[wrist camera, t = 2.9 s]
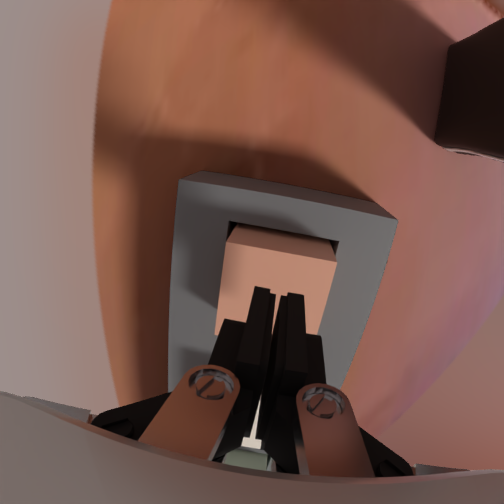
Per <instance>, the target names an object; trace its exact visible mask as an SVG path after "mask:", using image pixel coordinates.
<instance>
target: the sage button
mask: <svg viewBox="0 0 504 504" xmlns="http://www.w3.org/2000/svg"><path fill="white" fill-rule="evenodd" d="M267 457H268V454H263V453H257V452H251V451H245V450H239V449H235V450H233V451H231V452H229V453H227V457H226V460H225V462H224V464H228V465H234V466H239V467H245V468H251V469H258V470H265V471H266V466H267Z"/></svg>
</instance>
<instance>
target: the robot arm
mask: <svg viewBox="0 0 504 504" xmlns="http://www.w3.org/2000/svg"><path fill="white" fill-rule="evenodd" d="M275 300H276V294H273V293H270V289H269V288H263V287H258V286H255V287H254V291H253V295H252V299H251V303H250V307H249V312H248V316H247V320H246V322H241V321H236V320H231V319H226V318H225V319H224V321H223V323H222V326H221V329H220V331H219V334H218V337H217V340H216V343H215V345H214V348H213V351H212V354H211V357H210V359H209V362H208V365H200V366H196V367H194V368H192V369H190V370H188V371H187V372H186V373H185V374H184V376H183V377H182V379H181V380H180V381H179V383H178V384H177V386H176V387H175V389H174V390H173V391H172V392H169V393H165V394H162V395H159V396H156V397H153V398H149V399H146V400H143V401H139V402H136V403H133V404H129V405H126V406H122V407H119V408H115V409H111V410H108V411H105V412H103V413H100V414H99V415H93V414H91V410H87V409H81V408H76V407H72V406H67V405H62V404H58V403H54V402H50V401H45V400H41V399H38V398H34V397H21V396H17V395H14V394H10V393H7V392H2V391H0V504H504V470H492V469H490V470H472V471H470V470H467V469H456V468H446V467H437V466H429V465H422V464H415V465H414V466H413V467H410V465H409V464H408V463H407V462H406V461H405V460H404V459H403V458H402V457H400V456H399V455H397V454H396V453H394V452H393V451H392V450H390V449H389V448H388V447H386V446H385V445H383V444H382V443H381V442H379V441H378V440H377V439H375V438H374V437H373V436H371V435H370V434H368V433H367V432H366V431H364V430H363V429H362V428H360V427H359V426H358V424H357V421H356V418H355V415H354V412H353V409H352V406H351V404H350V401H349V399H348V398H347V396H346V395H345V394H344V393H343V392H342V391H340V390H339V389H337V388H335V387H333V386H330V385H327V383H326V373H325V363H324V354H323V345H322V338H321V336H320V335H315V334H308V333H306V318H305V301H304V295H302V294H296V293H291V292H288V293H287V296H284V295H281V297H280V301H279V306H278V310H277V315H276V319H275V324H274V328H273V319H274V310H275ZM272 328H273V332H272ZM260 397H261V400H260ZM259 401H260V407H259V414H258V421H257V428H256V435H255V439H258V440H261V448H260V450H264V451H265V452H266V453H267V454H268V455H269V456H270V457H271V458H272V462H271V471H265V470H258V469H251V468H245V467H239V466H234V465H228V464H224V462H225V460H226V457H227V453H229V452H231V451H233V450H235V449H237V448H239V447H241V445H242V441H243V437H247V438H250V435H251V431H252V427H253V424H254V420H255V416H256V412H257V409H258V405H259Z"/></svg>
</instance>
